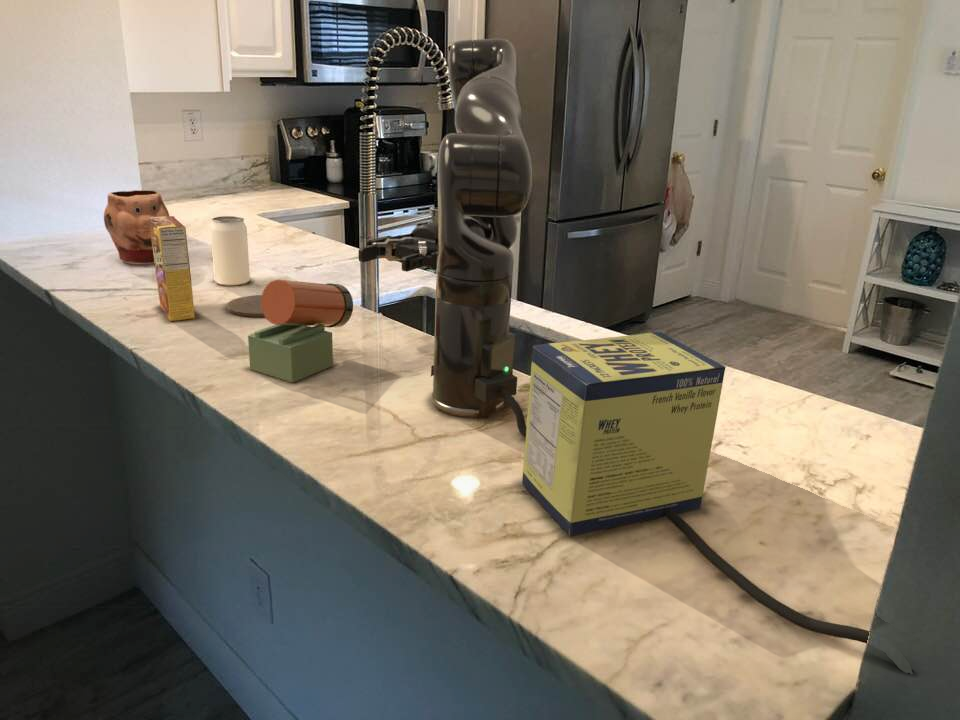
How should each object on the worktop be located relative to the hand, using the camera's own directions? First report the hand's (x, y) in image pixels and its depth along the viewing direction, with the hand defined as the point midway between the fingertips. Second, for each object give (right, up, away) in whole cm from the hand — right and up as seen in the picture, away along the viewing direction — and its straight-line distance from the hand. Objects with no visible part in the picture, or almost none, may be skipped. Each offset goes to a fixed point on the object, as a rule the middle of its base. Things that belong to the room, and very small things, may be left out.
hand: (381, 260), depth 118 cm
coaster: (-23, -6, +13) cm, 27 cm away
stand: (-11, -17, -12) cm, 23 cm away
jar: (-9, -8, -12) cm, 17 cm away
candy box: (-35, -8, +8) cm, 37 cm away
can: (-32, -1, +27) cm, 42 cm away
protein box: (+28, -30, -40) cm, 58 cm away
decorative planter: (-55, +5, +40) cm, 68 cm away
